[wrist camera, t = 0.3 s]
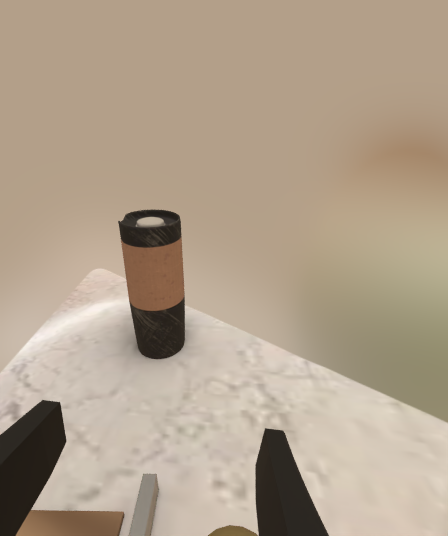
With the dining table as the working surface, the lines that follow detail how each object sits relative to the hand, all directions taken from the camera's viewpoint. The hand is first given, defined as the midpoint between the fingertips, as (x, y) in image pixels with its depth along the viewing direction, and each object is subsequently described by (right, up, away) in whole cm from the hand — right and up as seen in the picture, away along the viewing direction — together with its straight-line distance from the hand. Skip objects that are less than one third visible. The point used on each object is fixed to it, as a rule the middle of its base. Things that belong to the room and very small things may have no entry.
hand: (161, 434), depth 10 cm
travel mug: (-7, -6, +35) cm, 36 cm away
